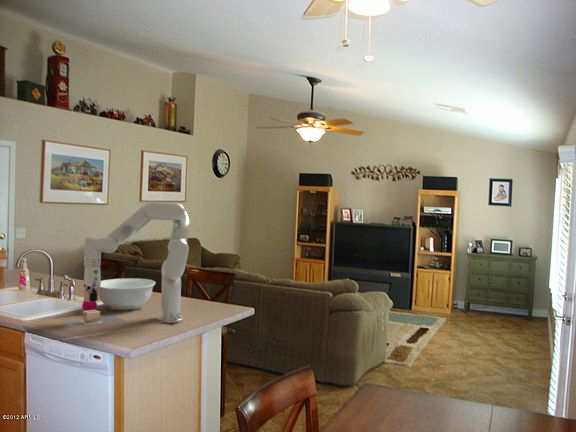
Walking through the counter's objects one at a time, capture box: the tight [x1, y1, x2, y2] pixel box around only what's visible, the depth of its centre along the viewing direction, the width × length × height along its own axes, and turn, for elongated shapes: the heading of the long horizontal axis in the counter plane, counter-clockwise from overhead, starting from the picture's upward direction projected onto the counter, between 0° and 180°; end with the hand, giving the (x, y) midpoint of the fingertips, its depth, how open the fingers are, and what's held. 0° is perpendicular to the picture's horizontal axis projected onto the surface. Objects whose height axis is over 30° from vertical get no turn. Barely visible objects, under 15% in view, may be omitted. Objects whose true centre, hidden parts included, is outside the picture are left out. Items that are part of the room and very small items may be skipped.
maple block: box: [82, 309, 101, 324], centre depth 234 cm, size 6×6×5 cm
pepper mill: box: [81, 283, 98, 311], centre depth 252 cm, size 7×7×20 cm
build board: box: [62, 315, 125, 330], centre depth 235 cm, size 14×25×1 cm, turn 132°
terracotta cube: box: [83, 289, 99, 302], centre depth 234 cm, size 5×5×5 cm
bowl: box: [98, 277, 156, 311], centre depth 269 cm, size 32×32×15 cm
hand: (91, 299), depth 234 cm, fingers closed on terracotta cube, 4 cm apart
